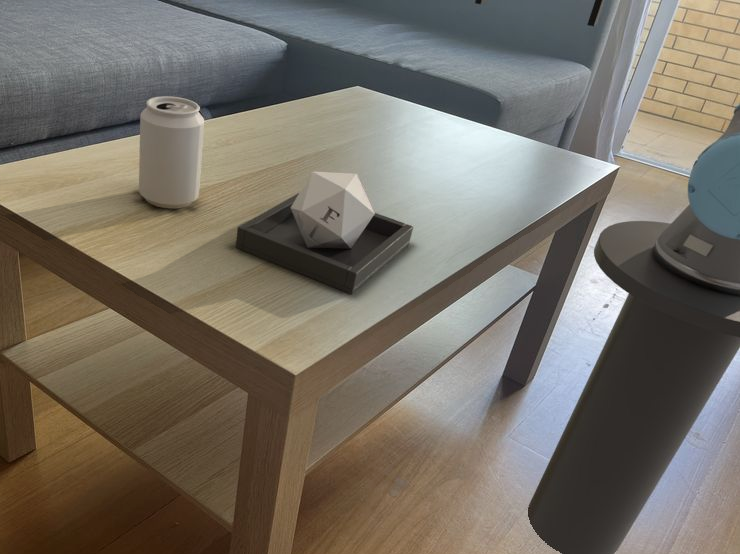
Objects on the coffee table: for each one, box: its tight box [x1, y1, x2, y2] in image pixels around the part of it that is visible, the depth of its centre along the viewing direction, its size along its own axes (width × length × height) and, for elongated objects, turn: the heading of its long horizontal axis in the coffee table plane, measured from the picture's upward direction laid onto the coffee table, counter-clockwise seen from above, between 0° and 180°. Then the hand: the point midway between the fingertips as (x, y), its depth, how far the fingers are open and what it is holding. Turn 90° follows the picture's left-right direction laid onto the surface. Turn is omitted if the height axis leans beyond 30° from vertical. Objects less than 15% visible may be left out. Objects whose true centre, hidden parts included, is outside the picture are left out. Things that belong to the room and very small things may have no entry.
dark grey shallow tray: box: [235, 192, 414, 295], centre depth 85 cm, size 15×16×3 cm
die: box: [291, 171, 376, 249], centre depth 83 cm, size 8×9×10 cm
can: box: [138, 95, 205, 210], centre depth 88 cm, size 8×8×12 cm
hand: (534, 13), depth 88 cm, fingers open, 13 cm apart
